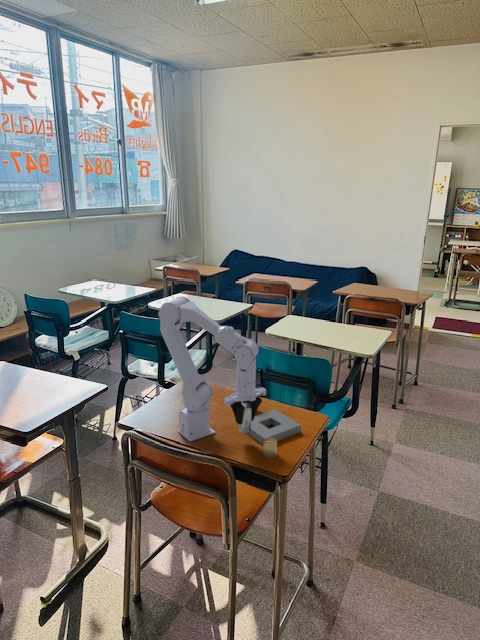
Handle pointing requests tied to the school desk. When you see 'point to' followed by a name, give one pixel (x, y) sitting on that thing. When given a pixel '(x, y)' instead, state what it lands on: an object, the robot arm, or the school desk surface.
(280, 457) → the school desk surface
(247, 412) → the long pin
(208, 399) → the robot arm
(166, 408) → the school desk surface
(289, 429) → the hole board
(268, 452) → the short pin
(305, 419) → the school desk surface
